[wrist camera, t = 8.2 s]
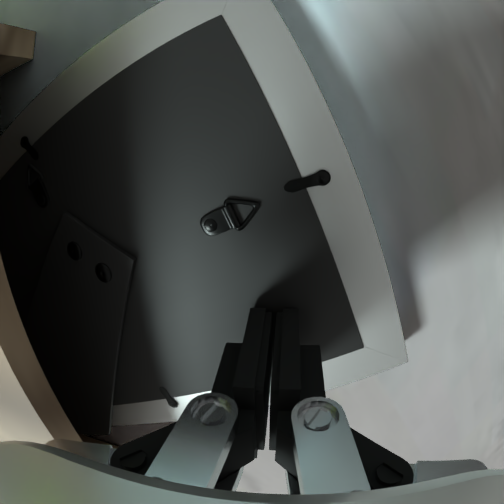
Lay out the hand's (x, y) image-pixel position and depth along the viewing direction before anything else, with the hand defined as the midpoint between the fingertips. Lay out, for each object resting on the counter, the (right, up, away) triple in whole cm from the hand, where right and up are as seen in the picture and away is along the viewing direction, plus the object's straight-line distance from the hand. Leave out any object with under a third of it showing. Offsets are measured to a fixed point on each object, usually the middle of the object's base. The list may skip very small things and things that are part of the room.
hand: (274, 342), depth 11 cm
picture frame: (-7, +3, +2) cm, 8 cm away
